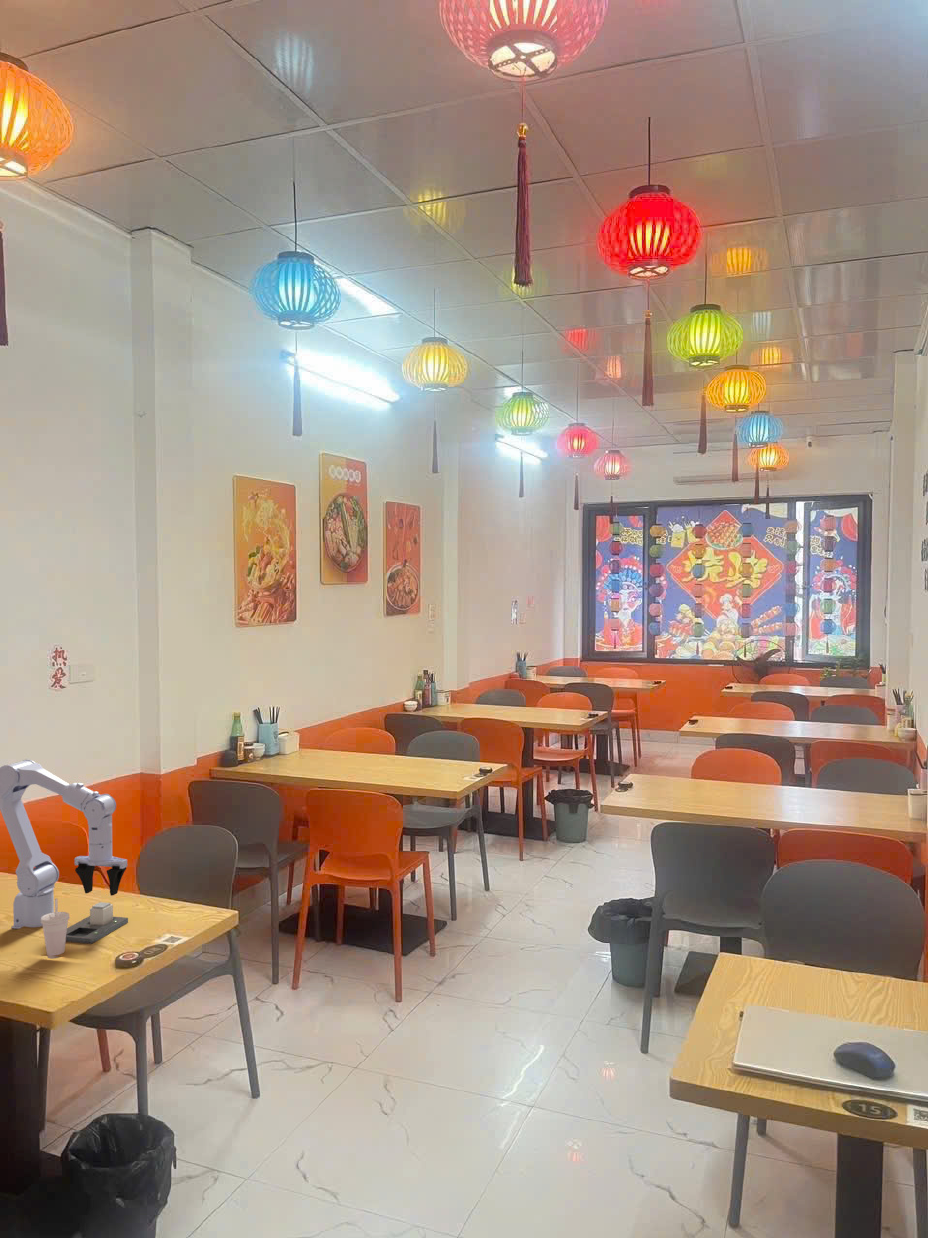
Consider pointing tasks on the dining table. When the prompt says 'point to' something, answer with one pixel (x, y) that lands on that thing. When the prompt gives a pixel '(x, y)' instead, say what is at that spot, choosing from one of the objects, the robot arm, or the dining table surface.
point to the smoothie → (55, 931)
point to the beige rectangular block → (101, 913)
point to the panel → (92, 930)
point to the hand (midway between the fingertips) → (101, 893)
